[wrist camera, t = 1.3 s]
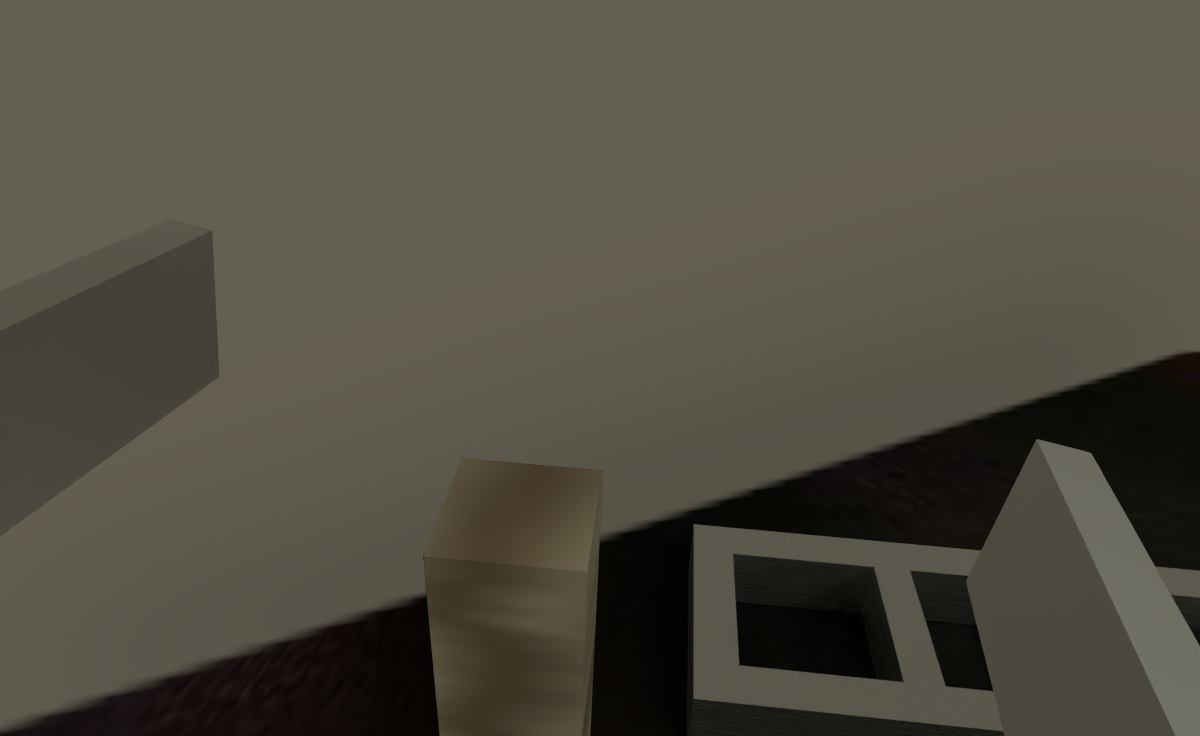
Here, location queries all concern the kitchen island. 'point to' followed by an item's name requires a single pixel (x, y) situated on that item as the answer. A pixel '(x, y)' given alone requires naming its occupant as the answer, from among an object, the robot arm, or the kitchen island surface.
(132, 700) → the kitchen island surface
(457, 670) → the peg
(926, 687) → the grey flat slotted block
